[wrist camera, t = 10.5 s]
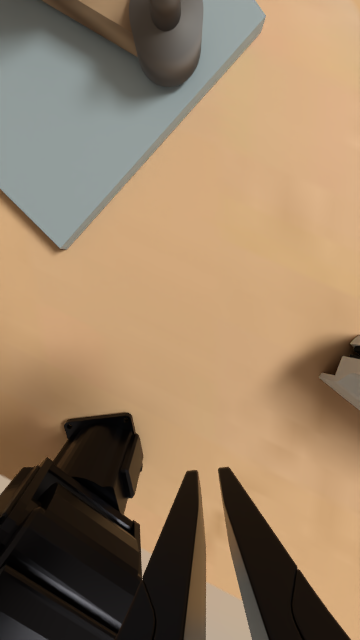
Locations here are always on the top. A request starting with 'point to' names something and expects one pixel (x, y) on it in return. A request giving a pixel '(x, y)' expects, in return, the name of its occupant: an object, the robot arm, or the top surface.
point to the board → (92, 108)
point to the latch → (146, 32)
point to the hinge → (347, 376)
